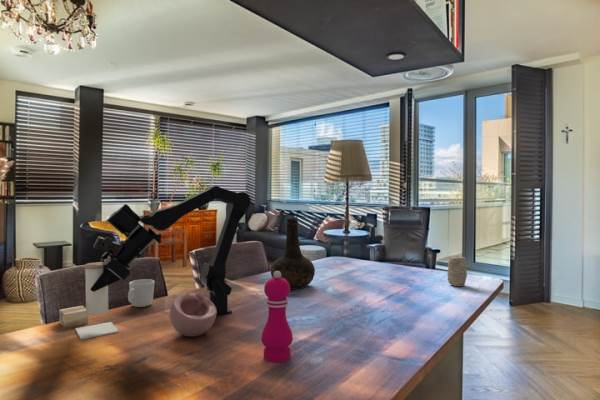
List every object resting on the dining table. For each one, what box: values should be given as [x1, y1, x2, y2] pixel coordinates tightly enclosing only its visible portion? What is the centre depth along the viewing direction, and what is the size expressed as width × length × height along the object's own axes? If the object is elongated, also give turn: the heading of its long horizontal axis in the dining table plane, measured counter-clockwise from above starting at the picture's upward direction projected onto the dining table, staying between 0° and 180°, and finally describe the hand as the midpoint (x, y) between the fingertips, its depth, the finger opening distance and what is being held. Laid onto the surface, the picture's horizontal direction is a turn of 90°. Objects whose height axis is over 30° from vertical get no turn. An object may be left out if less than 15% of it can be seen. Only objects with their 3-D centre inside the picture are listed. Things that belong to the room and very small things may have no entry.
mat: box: [75, 321, 119, 341], centre depth 106 cm, size 9×9×1 cm
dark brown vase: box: [270, 217, 316, 290], centre depth 157 cm, size 18×18×28 cm
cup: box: [127, 278, 156, 308], centre depth 129 cm, size 11×8×8 cm
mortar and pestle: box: [169, 292, 217, 337], centre depth 103 cm, size 12×12×12 cm
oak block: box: [59, 305, 89, 329], centre depth 112 cm, size 6×6×4 cm
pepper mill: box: [261, 271, 294, 363], centre depth 89 cm, size 7×7×20 cm
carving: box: [447, 255, 468, 287], centre depth 160 cm, size 6×8×12 cm
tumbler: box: [84, 261, 109, 316], centre depth 105 cm, size 6×6×13 cm
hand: (91, 288), depth 105 cm, fingers closed on tumbler, 5 cm apart
